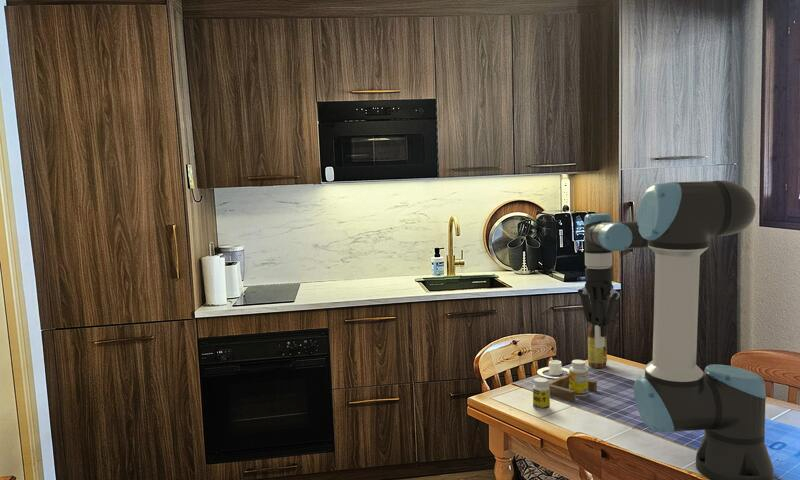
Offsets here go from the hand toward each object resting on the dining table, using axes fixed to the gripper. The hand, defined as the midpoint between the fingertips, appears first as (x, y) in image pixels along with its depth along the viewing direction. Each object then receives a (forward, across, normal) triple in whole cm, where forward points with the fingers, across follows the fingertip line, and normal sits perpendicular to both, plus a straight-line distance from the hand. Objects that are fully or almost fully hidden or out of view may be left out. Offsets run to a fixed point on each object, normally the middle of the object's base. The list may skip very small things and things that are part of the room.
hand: (599, 346), depth 178 cm
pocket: (+16, +10, 0) cm, 19 cm away
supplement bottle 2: (+16, +8, -1) cm, 18 cm away
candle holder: (+16, +25, -12) cm, 32 cm away
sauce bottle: (+16, +19, -28) cm, 38 cm away
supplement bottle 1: (+17, +10, +16) cm, 25 cm away
